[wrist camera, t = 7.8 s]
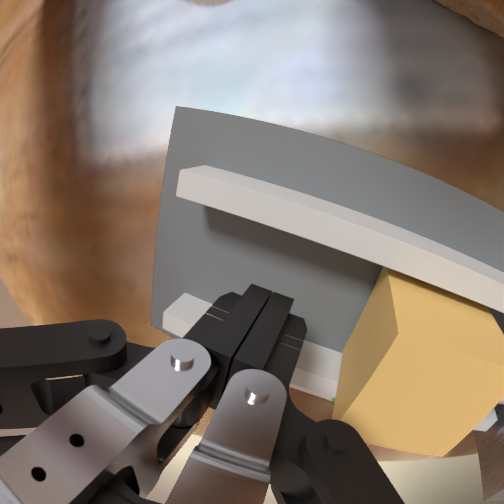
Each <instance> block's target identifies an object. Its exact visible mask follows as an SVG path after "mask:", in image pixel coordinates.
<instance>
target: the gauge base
mask: <svg viewBox="0 0 504 504" xmlns="http://www.w3.org/2000/svg"><path fill="white" fill-rule="evenodd" d="M383 266H385V267H388V268H390V269H393V270H396V271H398V272H401V273H404V274H406V275H409V276H412V277H414V278H417V279H420V280H422V281H425V282H427V283H430V284H433V285H435V286H438V287H440V288H443V289H445V290H448V291H451V292H453V293H456V294H458V295H461V296H463V297H466V298H468V299H471V300H473V301H476V302H478V303H481V304H483V305H485V306H487V308H488V309H489V311H490V313H491V314H492V316H493V317H494V319H495V321H496V322H497V324H498V326H499V327H500V329H501V331H502V333H503V334H504V212H503V211H501V210H499V209H497V208H496V207H494V206H492V205H490V204H488V203H486V202H484V201H483V200H481V199H479V198H477V197H475V196H473V195H471V194H469V193H467V192H465V191H463V190H461V189H459V188H456V187H454V186H452V185H450V184H448V183H446V182H444V181H441V180H439V179H437V178H435V177H432V176H430V175H428V174H425V173H423V172H421V171H418V170H416V169H413V168H411V167H408V166H406V165H403V164H401V163H398V162H396V161H393V160H391V159H388V158H385V157H382V156H380V155H377V154H374V153H371V152H368V151H366V150H363V149H360V148H357V147H354V146H351V145H348V144H344V143H341V142H338V141H335V140H332V139H328V138H325V137H321V136H318V135H315V134H311V133H307V132H304V131H300V130H296V129H292V128H288V127H284V126H280V125H276V124H272V123H268V122H263V121H259V120H254V119H249V118H245V117H240V116H235V115H229V114H224V113H218V112H213V111H206V110H200V109H194V108H187V107H179V106H176V109H175V114H174V119H173V124H172V129H171V135H170V140H169V146H168V152H167V158H166V165H165V171H164V178H163V185H162V192H161V200H160V208H159V217H158V226H157V236H156V247H155V259H154V272H153V288H152V309H151V326H153V327H155V328H157V329H159V330H161V331H163V332H165V333H167V334H169V335H171V336H173V337H175V338H177V339H179V338H180V339H182V338H183V337H184V336H185V334H186V333H187V332H188V331H189V330H190V329H191V328H192V327H193V326H194V324H195V323H196V322H197V321H198V320H199V319H200V318H201V317H202V316H203V314H205V313H206V311H207V310H208V309H209V308H210V307H212V304H213V303H214V302H215V301H216V300H217V299H218V298H219V297H220V296H222V295H225V294H227V293H229V292H234V293H237V294H239V295H243V294H244V292H245V291H246V290H247V289H248V287H249V286H250V285H251V284H255V285H257V286H260V287H263V288H265V289H268V290H271V291H272V294H273V292H277V293H279V294H282V295H285V296H288V297H290V298H293V299H294V302H293V305H292V308H291V311H290V314H293V315H296V316H298V317H301V318H304V320H305V323H306V326H307V333H306V336H305V339H304V343H303V346H302V349H301V352H300V355H299V358H298V361H297V364H296V367H295V370H294V373H293V376H292V379H291V382H290V385H289V387H291V388H294V389H297V390H300V391H303V392H306V393H309V394H312V395H315V396H318V397H321V398H324V399H327V400H330V401H331V402H334V403H335V398H336V392H337V386H338V380H339V373H340V367H341V360H342V352H343V349H344V347H345V345H346V343H347V341H348V339H349V338H350V336H351V334H352V332H353V330H354V328H355V326H356V324H357V322H358V320H359V318H360V316H361V314H362V312H363V310H364V308H365V306H366V304H367V301H368V299H369V297H370V295H371V293H372V291H373V288H374V286H375V284H376V282H377V280H378V277H379V275H380V273H381V270H382V268H383ZM496 421H497V416H496V413H495V409H494V408H493V409H492V410H491V412H490V413H489V414H488V415H487V416H486V417H485V418H484V419H483V420H482V421H481V422H480V423H479V424H478V425H477V426H476V427H475V428H474V429H473V430H472V431H471V432H474V430H478V431H487V430H488V429H489V428H490V427H491V426H492V425H493V424H494V423H495V422H496Z"/></svg>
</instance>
